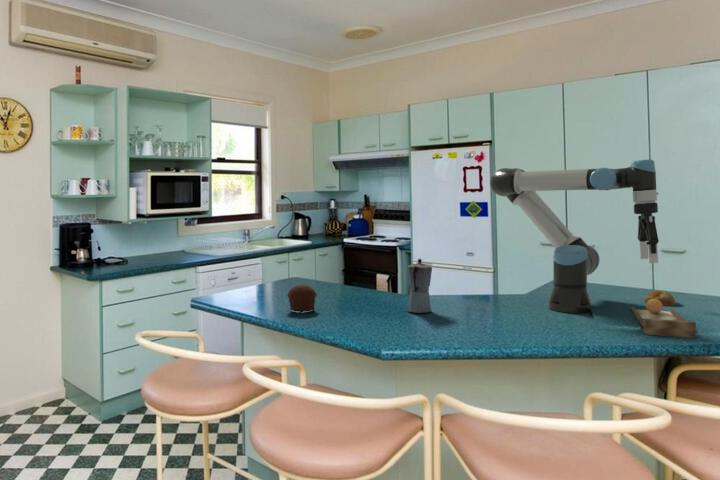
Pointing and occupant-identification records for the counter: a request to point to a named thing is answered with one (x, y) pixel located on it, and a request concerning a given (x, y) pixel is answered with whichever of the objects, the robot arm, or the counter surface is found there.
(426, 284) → the moka pot
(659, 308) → the ball
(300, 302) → the muffin
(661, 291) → the bread roll
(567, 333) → the counter surface
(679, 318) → the lane
